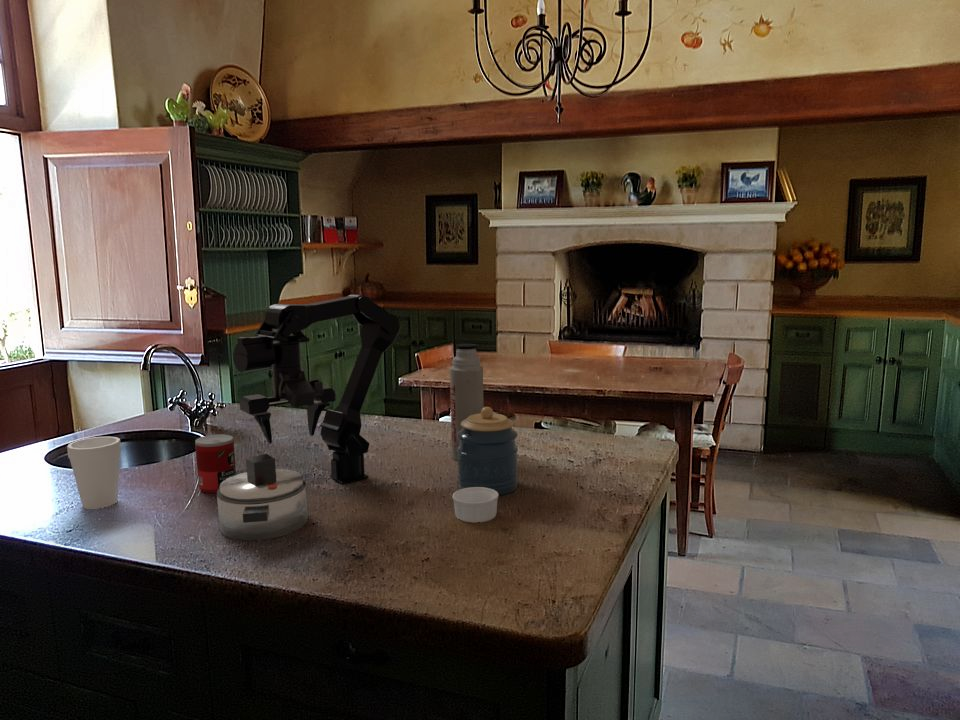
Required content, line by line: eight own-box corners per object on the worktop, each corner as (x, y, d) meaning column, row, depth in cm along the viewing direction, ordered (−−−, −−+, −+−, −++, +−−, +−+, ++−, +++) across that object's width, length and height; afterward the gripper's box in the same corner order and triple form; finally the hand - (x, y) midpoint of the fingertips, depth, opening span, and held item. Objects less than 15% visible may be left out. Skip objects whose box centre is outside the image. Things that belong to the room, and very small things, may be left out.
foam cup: (136, 498, 148) (130, 438, 146) (99, 514, 140) (93, 450, 138) (101, 493, 152) (95, 435, 149) (63, 509, 143) (56, 446, 141)
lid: (283, 469, 144) (282, 442, 143) (316, 488, 132) (315, 459, 131) (208, 486, 134) (206, 457, 134) (237, 508, 123) (234, 476, 122)
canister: (526, 481, 156) (526, 403, 153) (503, 501, 144) (503, 416, 141) (473, 474, 161) (472, 398, 158) (447, 492, 150) (445, 411, 147)
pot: (229, 505, 144) (227, 471, 143) (310, 498, 147) (308, 466, 146) (208, 551, 122) (205, 513, 121) (304, 543, 125) (302, 505, 124)
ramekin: (465, 528, 131) (464, 505, 130) (445, 512, 139) (445, 491, 138) (506, 519, 135) (506, 497, 134) (485, 504, 143) (485, 483, 142)
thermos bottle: (452, 462, 170) (450, 347, 166) (451, 452, 178) (448, 342, 173) (485, 461, 171) (484, 346, 166) (482, 451, 179) (481, 341, 174)
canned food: (225, 494, 150) (221, 444, 148) (191, 492, 152) (187, 442, 150) (243, 482, 157) (240, 434, 156) (211, 481, 159) (207, 433, 157)
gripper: (257, 376, 133) (262, 456, 136) (346, 365, 145) (349, 439, 147) (236, 369, 142) (241, 444, 144) (321, 358, 153) (325, 428, 156)
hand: (291, 439), depth 148 cm, fingers open, 9 cm apart
